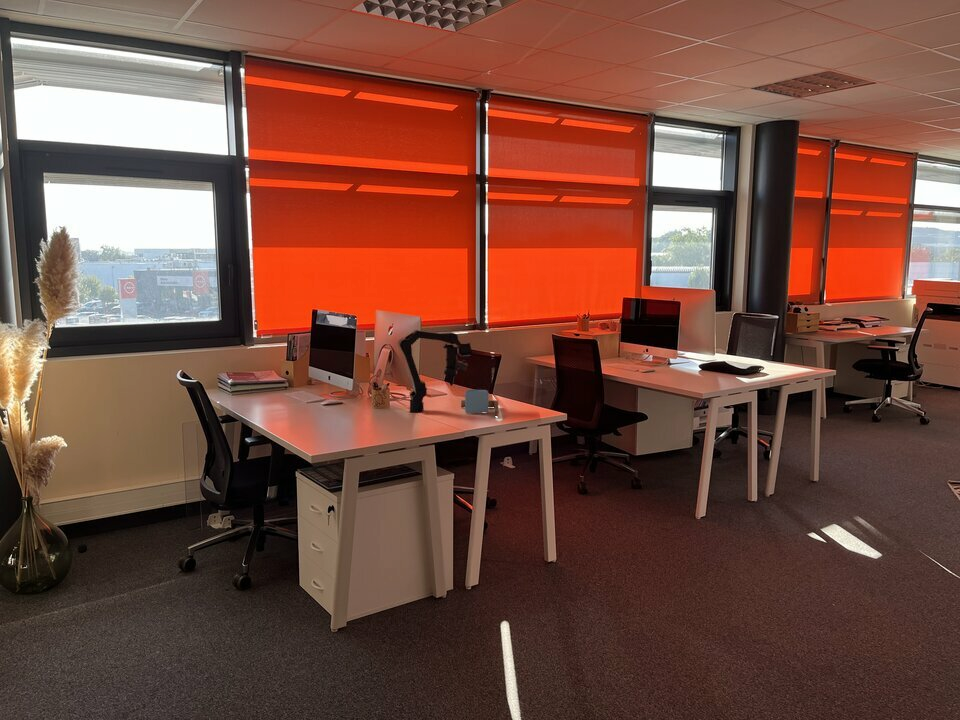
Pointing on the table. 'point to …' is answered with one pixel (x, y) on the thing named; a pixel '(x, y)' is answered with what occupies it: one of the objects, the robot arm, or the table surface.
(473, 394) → the data package
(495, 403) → the brown angled bar
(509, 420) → the table surface
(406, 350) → the robot arm
